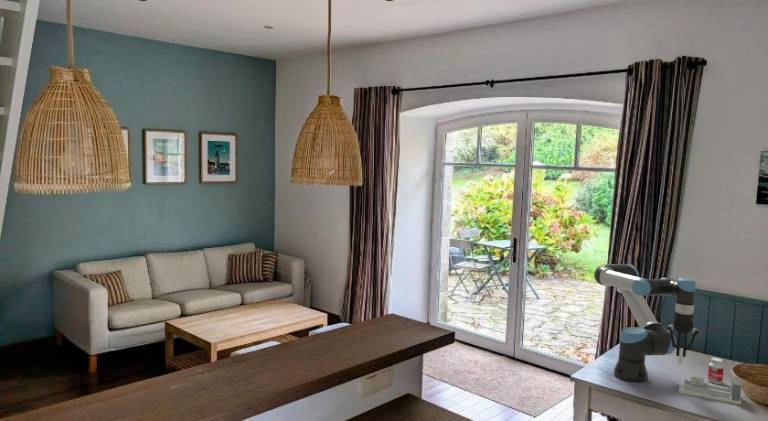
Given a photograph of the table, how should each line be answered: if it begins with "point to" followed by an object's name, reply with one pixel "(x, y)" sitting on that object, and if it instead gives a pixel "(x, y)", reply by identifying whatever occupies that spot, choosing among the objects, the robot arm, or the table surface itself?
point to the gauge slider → (698, 380)
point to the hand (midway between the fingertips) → (680, 363)
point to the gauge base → (714, 391)
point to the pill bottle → (715, 371)
